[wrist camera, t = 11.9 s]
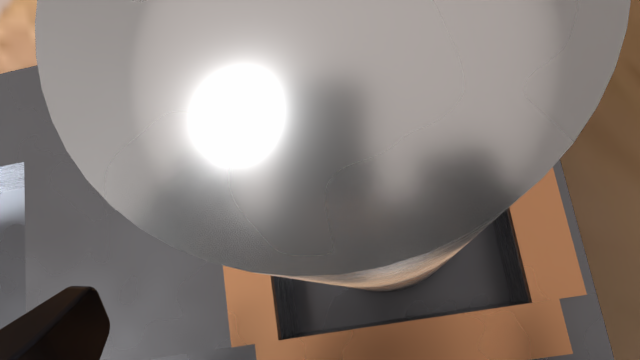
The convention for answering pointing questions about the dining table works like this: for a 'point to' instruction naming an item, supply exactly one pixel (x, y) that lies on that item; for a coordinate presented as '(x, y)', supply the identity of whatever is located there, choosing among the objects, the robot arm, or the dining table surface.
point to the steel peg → (322, 121)
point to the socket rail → (279, 292)
